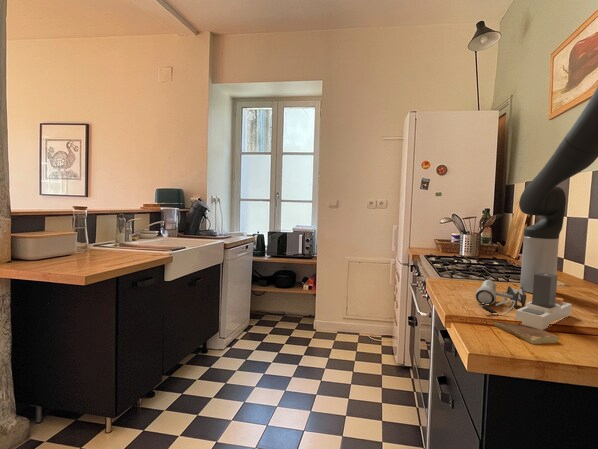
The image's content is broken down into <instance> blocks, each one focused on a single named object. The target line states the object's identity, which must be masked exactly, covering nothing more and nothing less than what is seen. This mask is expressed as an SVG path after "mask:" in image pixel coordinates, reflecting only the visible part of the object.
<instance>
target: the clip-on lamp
mask: <svg viewBox="0 0 598 449" xmlns="http://www.w3.org/2000/svg"><path fill="white" fill-rule="evenodd" d="M496 289H497V285H496V283H495V281H493V280H491V279H486V280H484V281H483V282H482V283H481V286H479V288H477V289H476V291H475V293H474V294H475V295H474V297H475V298H474V299H475V300H476V301H477V302H478V304H479V305H478V306H480V307H481V308H482V309H483V310H485V311H486V312H488V313H489V314H492V313H497V314H498V312H497V311H496V310H494V309H492V308H491V307H489V306H491V305H493V304H494V303H495V302H496V300H497V296H498V297H502V298H503V301H500V302H498V303H496V304H495V306H496V307H498V306H500V305H503V304H507V303H510V302H511V303H512V306H511V307H510V308H509V309H508V310H506V312H504V315H506V314H508V313H509V312H510V311H511V310H512V309H514V308H516V309H517V305H518V302H519V303H521V307H520V308H523V307H526V300H527V293H525V291H524V290H523V287H521V288H520V287H519V289H515V288H513V287H512V286H510V285H508V286H507V290H506V291H503V292H499V291H496ZM508 299H509V300H508ZM482 303H484V305H482ZM485 304H489V305H488V306H487V305H485ZM513 307H514V308H513Z"/></svg>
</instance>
